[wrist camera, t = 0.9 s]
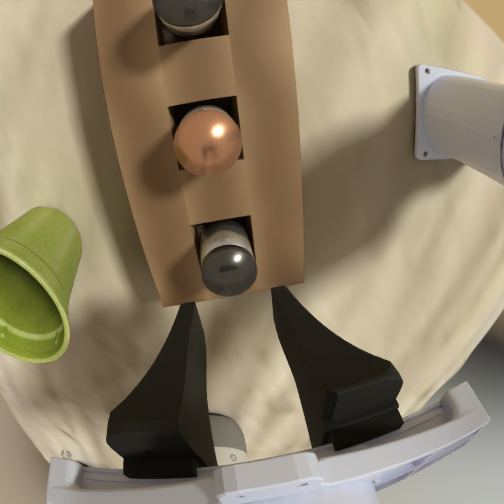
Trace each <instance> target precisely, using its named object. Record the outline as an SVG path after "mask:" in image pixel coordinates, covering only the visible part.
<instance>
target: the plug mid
mask: <svg viewBox="0 0 504 504" xmlns="http://www.w3.org/2000/svg"><path fill="white" fill-rule="evenodd" d="M241 149H242V136H241V132H240V130H239V128H238V126H237V124H236V123H235V122H234V121H233V119H232V118H231V117H230V116H229V115H228V114H227V113H226V112H225V111H224V110H223V109H221V108H219V107H217V106H214V105H201V106H197V107H195V108H193V109H191V110H190V111H189V112H188V113H186V115H185V116H184V117H183V119H182V121H181V123H180V125H179V127H178V129H177V131H176V133H175V137H174V152H175V155H176V158H177V160H178V161H179V163H180V164H181V165H182V166H183V167H184V168H185V169H186V170H188V171H189V172H191V173H193V174H196V175H199V176H214V175H218V174H221V173H223V172H225V171H226V170H228V169H229V168H230V167H232V166H233V165H234V163H235V162H236V161H237V159H238V157H239V155H240V153H241Z"/></svg>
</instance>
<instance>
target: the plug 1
mask: <svg viewBox="0 0 504 504" xmlns="http://www.w3.org/2000/svg"><path fill="white" fill-rule="evenodd" d="M222 2H223V0H152V4H153V7H154V9H155V11H156V13H157V14H158V16H159V17H160V19H161V20H162V22H163V23H164V25H165V26H166V28H167V29H168V30H169V31H171V32H172V33H174V34H176V35H179V36H185V37H191V36H197V35H200V34H202V33H204V32H206V31H208V30H209V29H210V28H211V27H212V26H213V25H214V24H215V22H216V21H217V18H218V15H219V12H220V9H221V5H222Z"/></svg>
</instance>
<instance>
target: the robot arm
mask: <svg viewBox="0 0 504 504" xmlns="http://www.w3.org/2000/svg"><path fill="white" fill-rule="evenodd" d="M425 69H426V70H427V73H425ZM415 71H416V130H415V150H414V156H415V157H416V158H417V159H419V160H433V159H455V160H457V161H459V162H461V163H463V164H465V165H467V166H469V167H471V168H473V169H475V170H477V171H479V172H481V173H483V174H484V175H486V176H488V177H490V178H492V179H493V180H495V181H497V182H499V183H500V184H502V185H504V85H502V84H498V83H494V82H489V81H488V80H487V79H485V78H481V77H477V76H473V75H470V74H466V73H461V72H457V71H453V70H448V69H443V68H439V67H433V66H428V65H422V64H418V65H417V66H416V69H415ZM424 152H425V155H423V154H424ZM271 293H272V305H273V317H274V323H275V327H276V331H277V334H278V338H279V341H280V343H281V346H282V349H283V351H284V354H285V356H286V359H287V361H288V364H289V366H290V369H291V371H292V374H293V377H294V380H295V382H296V386H297V390H298V393H299V397H300V401H301V405H302V408H303V412H304V416H305V420H306V424H307V428H308V433H309V437H310V441H311V446H312V449H308V450H304V451H300V452H295V453H290V454H285V455H280V456H275V457H270V458H265V459H259V460H254V461H247V462H241V463H234V464H229V465H221V466H218V463H217V458H216V453H215V448H214V443H213V437H212V431H211V424H210V418H209V410H208V403H207V390H206V345H205V336H204V330H203V327H202V324H201V320H200V317H199V314H198V310H197V307H196V304H195V301H193V302H187V303H182V304H181V305H180V308H179V311H178V313H177V316H176V319H175V321H174V324H173V326H172V328H171V331H170V333H169V335H168V337H167V340H166V341H165V343H164V345H163V347H162V349H161V351H160V353H159V355H158V356H157V358H156V360H155V361H154V363H153V365H152V366H151V368H150V369H149V371H148V372H147V373H146V375H145V376H144V377H143V379H142V380H141V381H140V383H139V384H138V385H137V386H136V387H135V388H134V390H133V391H132V392H131V393H130V394H129V395H128V396H127V397H126V398H125V399H124V400H123V401H122V402H121V403H120V404H119V405H118V406H117V407H116V408H115V409H114V410H112V411H111V413H110V417H109V421H108V426H107V436H106V442H107V444H108V445H109V446H110V447H111V448H112V449H113V450H114V451H115V452H116V453H118V454H119V455H120V456H121V457H123V458H124V461H123V469H104V468H91V467H83V466H82V465H81V464H80V463H78V462H76V461H74V460H70V459H64V458H56V457H51V461H50V469H49V476H48V485H47V495H46V503H47V504H380V502H379V499H378V496H377V493H376V492H377V491H379V490H381V489H384V488H386V487H388V486H390V485H392V484H395V483H397V482H399V481H401V480H403V479H405V478H407V477H409V476H411V475H413V474H415V473H417V472H419V471H420V470H422V469H424V468H426V467H428V466H430V465H431V464H433V463H435V462H437V461H438V460H440V459H442V458H444V457H445V456H447V455H449V454H450V453H452V452H454V451H456V450H457V449H459V448H461V447H462V446H464V445H465V444H467V443H468V442H469V441H470V440H471V439H472V438H473V437H474V436H475V435H476V434H478V433H479V432H480V431H481V430H482V429H483V428H484V427H485V426H486V425H487V424H488V423H489V422H490V418H489V416H488V415H487V413H486V411H485V410H484V408H483V406H482V405H481V403H480V401H479V400H478V398H477V397H476V395H475V393H474V392H473V390H472V389H471V387H470V386H469V384H468V383H467V382H464V383H461V384H460V385H458V386H456V387H454V388H452V389H450V390H449V391H447V392H446V393H445V394H444V395H443V396H442V398H441V399H440V401H439V402H437V403H435V404H433V405H431V406H429V407H427V408H425V409H422V410H420V411H418V412H416V413H413V414H411V415H409V416H406V417H404V418H402V417H401V415H400V413H399V411H398V409H397V408H399V404H398V402H397V400H396V398H397V396H398V394H399V392H400V390H401V387H402V384H403V380H402V378H401V376H400V374H399V372H398V371H397V370H396V368H395V367H394V366H393V364H392V363H391V362H390V361H388V360H385V359H382V358H380V357H377V356H374V355H372V354H370V353H368V352H365V351H363V350H361V349H359V348H357V347H356V346H354V345H352V344H350V343H348V342H347V341H345V340H344V339H342V338H341V337H339V336H337V335H336V334H335V333H333V332H332V331H331V330H329V329H328V328H327V327H325V326H324V325H323V324H322V323H321V322H319V321H318V320H317V319H316V318H315V317H314V316H313V315H312V314H311V313H310V312H309V311H308V310H306V309H305V308H304V307H303V306H302V304H301V303H300V302H299V301H298V300H297V299H296V298H295V297H294V296H293V294H292V293H291V292H290V291H289V290H288V288H287V287H286V286H284V285H283V286H278V287H273V288H271Z"/></svg>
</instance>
